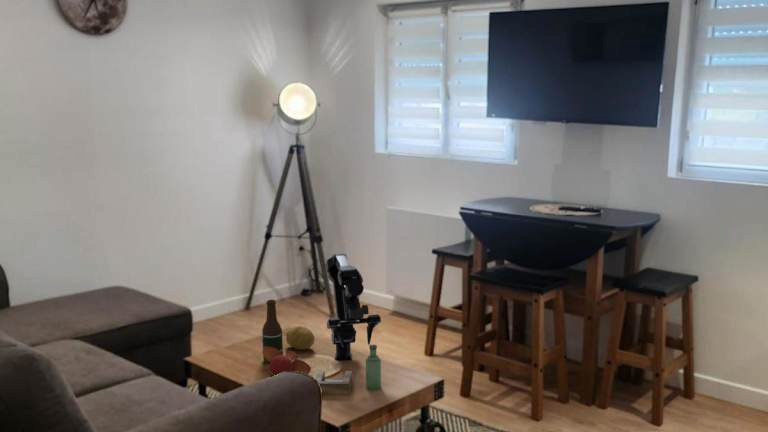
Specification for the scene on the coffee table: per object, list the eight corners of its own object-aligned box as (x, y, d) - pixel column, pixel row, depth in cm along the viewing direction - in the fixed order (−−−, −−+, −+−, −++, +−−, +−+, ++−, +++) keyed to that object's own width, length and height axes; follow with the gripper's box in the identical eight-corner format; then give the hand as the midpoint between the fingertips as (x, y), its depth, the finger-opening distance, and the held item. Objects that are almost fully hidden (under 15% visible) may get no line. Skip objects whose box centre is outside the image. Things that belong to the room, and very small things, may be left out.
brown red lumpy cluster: (262, 361, 269) (248, 367, 254) (271, 340, 269) (258, 344, 254) (308, 384, 265) (297, 390, 251) (317, 362, 266) (307, 367, 251)
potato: (299, 320, 295) (281, 323, 289) (320, 328, 286) (302, 332, 280) (297, 342, 296) (279, 346, 290) (318, 351, 287) (301, 355, 281)
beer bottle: (285, 357, 278) (283, 298, 275) (280, 364, 271) (278, 303, 267) (265, 357, 279) (263, 297, 275) (260, 364, 271) (258, 303, 268)
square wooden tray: (318, 381, 253) (318, 370, 253) (352, 381, 253) (352, 370, 252) (313, 394, 242) (313, 383, 241) (348, 394, 241) (348, 383, 240)
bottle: (366, 384, 250) (365, 343, 248) (381, 384, 250) (380, 343, 248) (366, 390, 245) (365, 348, 243) (381, 390, 245) (380, 348, 243)
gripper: (329, 299, 247) (333, 344, 242) (381, 295, 251) (386, 339, 246) (324, 306, 257) (329, 349, 252) (375, 302, 261) (380, 344, 256)
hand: (356, 345), depth 251 cm, fingers open, 9 cm apart
